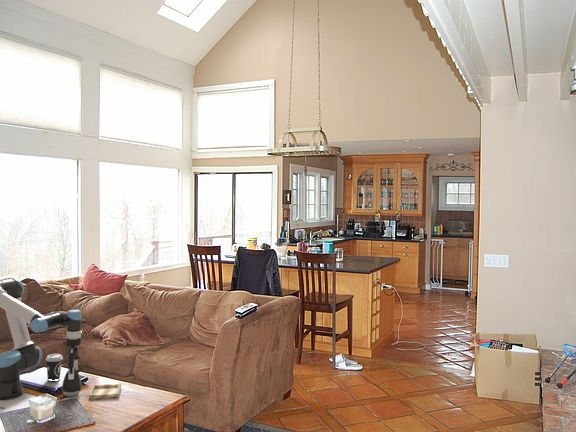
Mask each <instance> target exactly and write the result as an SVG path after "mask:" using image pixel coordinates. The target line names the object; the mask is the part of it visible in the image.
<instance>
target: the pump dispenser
mask: <svg viewBox="0 0 576 432" xmlns="http://www.w3.org/2000/svg"><path fill="white" fill-rule="evenodd" d="M82 371H83V368H80V369H78V370H76V369H74V379H68V373H69V369H68V370H67V372H66V373H65V376H64V377H63V381H62V386H61V391H62V393H63V395H64V396H66V397H69V398H70V397H71V398H72V397H75V396H77V395H79V393H80V392H81V389H82V380H81V379H82V378H81V376H80V372H82Z"/></svg>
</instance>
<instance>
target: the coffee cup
mask: <svg viewBox="0 0 576 432" xmlns="http://www.w3.org/2000/svg"><path fill="white" fill-rule="evenodd" d="M63 360H64V357H63V355H62V354H60V353H51V354H48V355H47V356H46V358H45V361H46V374H47V380H48V379H52V380H55V379H59V378H61V373H62V372H61V370H62V364H63V362H62V361H63ZM59 380H60V379H59Z"/></svg>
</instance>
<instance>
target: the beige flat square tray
mask: <svg viewBox="0 0 576 432" xmlns="http://www.w3.org/2000/svg"><path fill="white" fill-rule="evenodd" d="M121 389H122V384H121V383H108V384H107V383H105V384H103V383H102V384H92V385H91V387H90V391H89V394H88V400H91V401H92V400H110V399H120V395H121V394H120V393H121Z"/></svg>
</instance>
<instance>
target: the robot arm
mask: <svg viewBox="0 0 576 432" xmlns="http://www.w3.org/2000/svg"><path fill="white" fill-rule="evenodd" d="M24 287H25V286H24V284H23V282H22V281H21V280H20V279H18V278H16V277H8V278H7V277H6V278H3V279H0V308H1V309H2V310H4V311H5V314H6V319H7V322H8V326H9V330H10V333H11V337H12V340H13V345H14V347H13V348H12V349H11V350H7V351H3V352H1V353H0V401H6V400H12V399H16V398H19V397H21V396H22V395H23V394H24V388H23V385H22V383H21V379H20V378H21V373H22V372H24V371H27V370H29V369H33V368H35V367H36V366H38V365H39V364H40V363H41V361H42V359H43V352H42V349H41V348H40V347H39V346H38V345H36V344H35V342H34V341H32V340H31V336H30V333H29V329H28V325H29V326H30V329H31V330H32V332H34V333H42V332H43V333H44V332H45V331H48V330H50V329H54V328H57V327H66V346H68V347H69V350H68V351H69V353H68V364H67V366H66V369H68V370H69V373H68V379H74V369H76V370H79V369H78V364H79V363H78V362H79V361H78V360H80V357H79V346H80V345H81V344H82V333H83V331H82V319H83V318H82V317H83V316H82V311H81V310H79V309H70V310H69V309H68V311H67V312H60V311H51V312H50V313H49V314H47V315H43V314H42V313H40V312H38V311H36V310H35V309H33V308H31V307H29V306H28V305H26V304H25V303H23V302H22V301H21V300H22V299H23V296H22V295H23V293H24V291H25V288H24ZM27 324H28V325H27Z"/></svg>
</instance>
